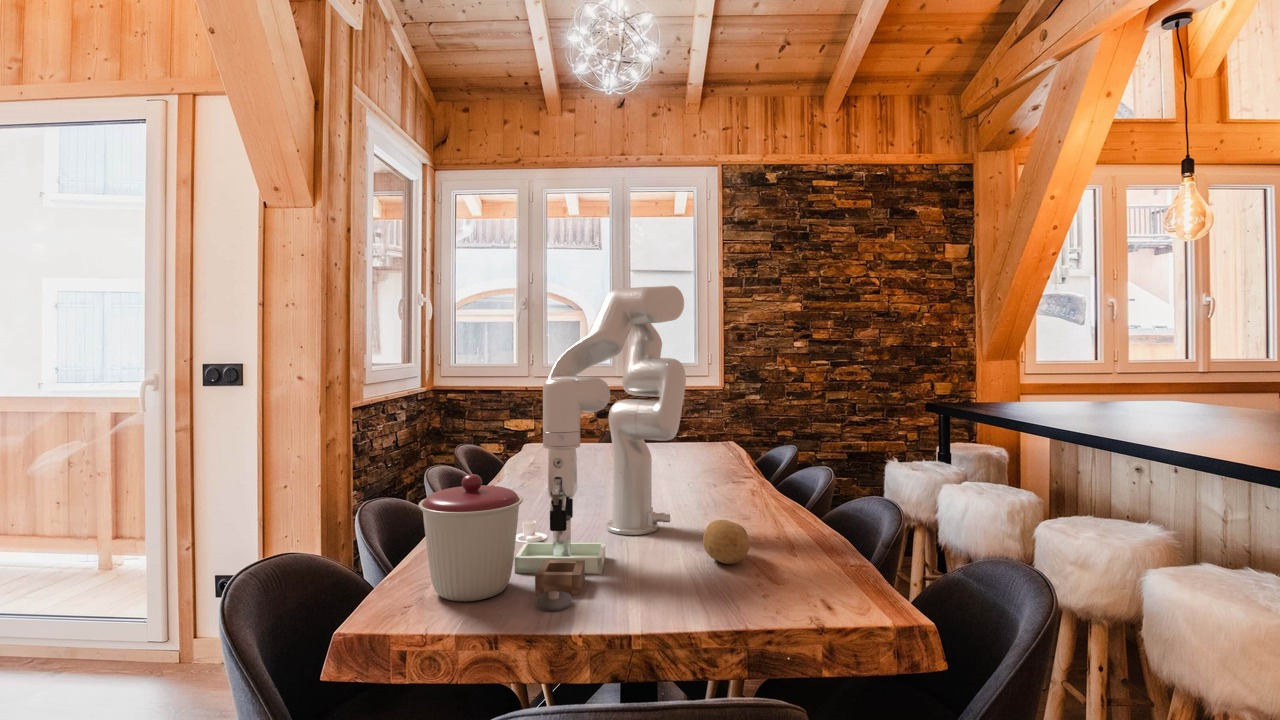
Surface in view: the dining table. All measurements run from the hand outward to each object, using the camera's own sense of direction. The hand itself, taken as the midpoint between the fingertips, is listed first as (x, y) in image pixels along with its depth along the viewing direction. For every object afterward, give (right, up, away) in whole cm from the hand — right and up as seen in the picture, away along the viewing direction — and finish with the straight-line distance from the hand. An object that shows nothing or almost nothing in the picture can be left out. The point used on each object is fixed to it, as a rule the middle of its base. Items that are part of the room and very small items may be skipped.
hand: (561, 523), depth 129 cm
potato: (+34, -8, +2) cm, 35 cm away
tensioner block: (+1, -8, -16) cm, 18 cm away
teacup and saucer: (-12, -9, +17) cm, 22 cm away
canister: (-14, -9, -14) cm, 22 cm away
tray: (0, -8, 0) cm, 8 cm away
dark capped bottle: (0, -7, 0) cm, 7 cm away
